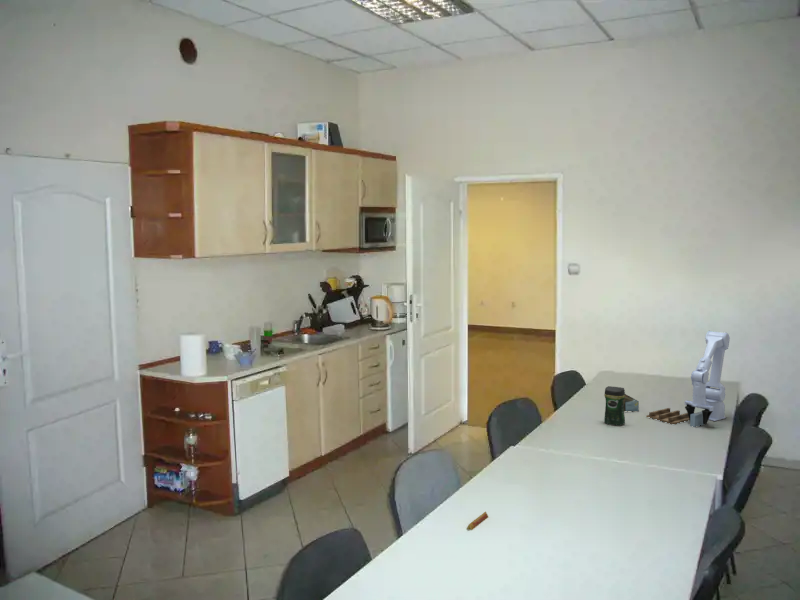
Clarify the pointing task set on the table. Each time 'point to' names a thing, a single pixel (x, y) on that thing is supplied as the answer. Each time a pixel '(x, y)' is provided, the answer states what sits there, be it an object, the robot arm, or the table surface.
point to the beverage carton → (630, 404)
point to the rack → (669, 416)
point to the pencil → (477, 521)
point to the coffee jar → (614, 405)
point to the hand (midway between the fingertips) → (698, 422)
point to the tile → (696, 419)
